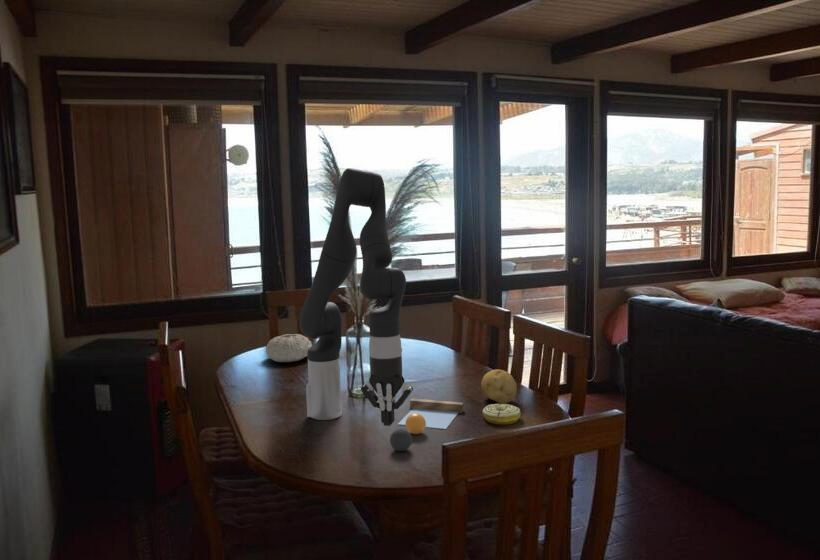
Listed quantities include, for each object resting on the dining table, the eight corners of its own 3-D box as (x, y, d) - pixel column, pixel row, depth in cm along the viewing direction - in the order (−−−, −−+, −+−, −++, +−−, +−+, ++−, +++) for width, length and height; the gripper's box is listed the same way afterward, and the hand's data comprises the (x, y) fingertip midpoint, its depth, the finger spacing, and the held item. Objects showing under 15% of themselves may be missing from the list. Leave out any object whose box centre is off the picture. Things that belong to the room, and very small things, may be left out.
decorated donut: (505, 411, 197) (505, 399, 196) (528, 422, 187) (528, 409, 187) (475, 417, 192) (475, 404, 191) (497, 429, 182) (497, 415, 182)
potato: (503, 393, 212) (503, 363, 211) (522, 405, 200) (522, 373, 199) (474, 397, 209) (473, 366, 208) (491, 410, 197) (491, 377, 196)
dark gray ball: (387, 453, 167) (386, 432, 166) (394, 445, 172) (394, 424, 171) (407, 455, 165) (407, 434, 164) (414, 447, 170) (414, 426, 170)
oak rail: (410, 408, 200) (409, 400, 200) (412, 406, 202) (412, 398, 202) (462, 413, 195) (461, 404, 195) (463, 410, 197) (463, 402, 197)
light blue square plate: (397, 424, 187) (397, 424, 187) (413, 408, 200) (413, 408, 200) (445, 429, 182) (445, 428, 182) (458, 412, 195) (458, 412, 195)
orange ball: (402, 436, 178) (402, 416, 177) (409, 429, 183) (408, 409, 183) (422, 438, 176) (422, 418, 176) (428, 430, 182) (428, 411, 181)
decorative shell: (261, 357, 265) (260, 333, 264) (305, 352, 273) (304, 328, 271) (272, 368, 249) (271, 342, 248) (318, 362, 257) (317, 336, 255)
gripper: (353, 355, 155) (356, 428, 157) (407, 358, 150) (409, 432, 153) (365, 348, 162) (368, 417, 164) (417, 350, 157) (419, 421, 160)
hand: (388, 424), depth 158 cm, fingers closed
